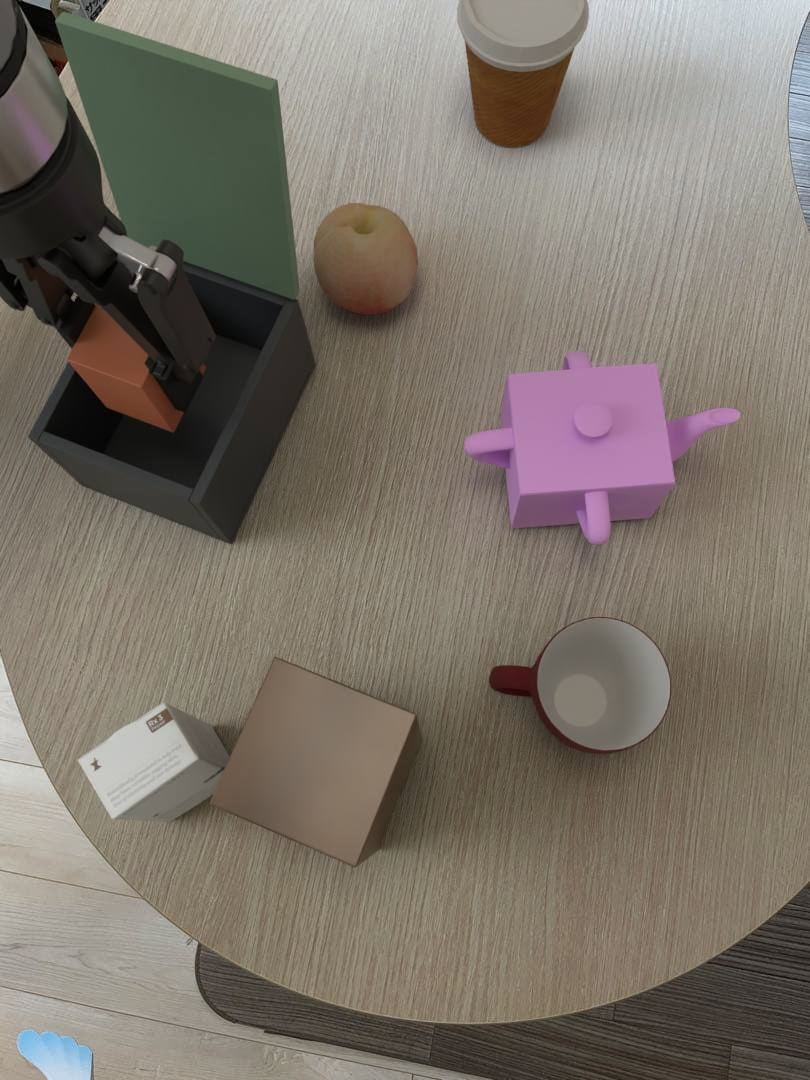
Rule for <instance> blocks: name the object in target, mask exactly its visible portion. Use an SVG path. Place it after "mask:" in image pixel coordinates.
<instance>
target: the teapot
mask: <svg viewBox="0 0 810 1080" xmlns="http://www.w3.org/2000/svg"><path fill="white" fill-rule="evenodd" d="M563 357H564V358H563V360H562V361H563V363H562V369H559V370H558V369H555V370H545V371H534V372H523V373H522V372H521V373H511V374H506V380H505V386H504V392H503V398H502V404H501V411H500V416H499V422H500V428H495V429H489V430H482V431H478V432H474V433H472V434H470V435H468V436H467V437H466V438H465V440H464V441H463V451H464V453H465V454H466V455H467V456H468V457H469V458H471V459H472V460H474V461H477V462H478V463H482V464H486V465H491V466H495V467H499V468H504V471H505V481H506V489H507V498H508V509H509V519H510V527H511V529H522V528H524V529H525V528H536V527H550V526H562V525H576V524H579V525H580V528H581V530H582V533H583V536H584V537H585V539H586V540H587V541H588V542H589V544H591V545H594V546H603V545H605V544H606V543H607V542H608V541H609V539H610V538H611V531H612V530H611V529H612V527H611V525H612V524H611V522H615V521H627V520H629V521H630V520H642V519H650V518H651V517H652V516H653V515H654V514H655V512H656V510H658V508H659V507H660V506H661V504H663V501H664V500H665V499H666V497H668V495H669V494H670V492H671V491H672V489H673V488H674V487H675V486H676V483H677V482H676V478H675V471H674V464H673V462H675V461H677V460H678V459H679V458H681V457H682V456H683V455H684V454H686V453H687V451H688V450H689V449H690V448H691V447H692V446H693V445H694V444H695V443H696V442H697V441H698V440H699V439H700V438H701V437H702V436H703V435H705V434H707V433H708V432H710V431H712V430H715V429H717V428H719V427H723V426H727V425H730V424H733V423H735V422H737V421H738V420H739V419H740V418H741V413H740V411H739V410H738V409H735V408H730V407H718V408H711V409H707V410H704V411H700V412H697V413H694V414H691V415H687V416H684V417H680V418H676V419H671V420H666V419H667V418H666V412H665V406H664V399H663V393H662V385H661V379H660V374H659V368H658V363H657V362H653V363H651V362H650V363H638V364H621V365H608V366H594V367H592V362H591V359H590V356H589V353H587V352H585V351H583V350H573V351H569V352H567V353H566V354H565V355H564V356H563Z"/></svg>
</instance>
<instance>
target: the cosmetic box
mask: <svg viewBox="0 0 810 1080" xmlns="http://www.w3.org/2000/svg"><path fill="white" fill-rule="evenodd" d="M230 756H231V755H229V752H228V751H227V750H226V748H225V746H224V744H223V743H222V741H221V739H220V738H219V736H218V734H217V733H216V731H215V729H214V727H213V726H212V725H211V724H210V723H207V722H205V721H203V720H201V719H200V718H198V717H196V716H193V715H191V714H190V713H188V712H186V711H183V710H181V709H179V708H177V707H176V706H173V705H172V704H169V703H168V702H166V701H164V702H161V703H160V704H158V705H157V706H156V707H154V708H153V709H151V710H149V711H148V712H146V713H145V714H143V715H142V716H140V717H139V718H137V719H136V720H134V721H132V722H130V723H129V724H126V725H124V726H122V727H121V728H119V729H118V730H116V731H115V732H114V733H113V734H112V735H110V736H109V737H108V738H107V739H106V740H103V742H101V743H99V744H98V745H96V746H95V747H94V748H92V749H90V750H89V751H88V752H87V753H85V754H84V755H81V756H80V757H79V758H78V759H77V762H78V764H79V765H80V768H82V771H83V772H84V773H85V775H86V777H87V778H88V780H89V782H90V784H91V786H92V787H93V789H94V791H95V792H96V794H97V796H98V798H99V799H100V802H101V803H102V804H103V807H104V808H105V810H106V811H107V813H108V815H109V817H110V819H111V820H116V821H117V820H119V821H120V820H121V821H139V822H140V821H141V822H142V821H143V822H157V823H158V822H160V823H169V822H172V821H173V820H176V819H177V818H179V817H180V816H182V815H184V814H185V813H187V812H188V811H190V810H192V809H193V808H195V807H197V806H198V805H199V804H201V803H202V802H204V801H205V800H207V799H209V798H210V797H212V796H213V794H214V792H215V790H216V788H217V785H218V783H219V781H220V779H221V776H222V774H223V772H224V770H225V767H226V765H227V763H228V760H229V758H230Z"/></svg>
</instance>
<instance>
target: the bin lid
mask: <svg viewBox="0 0 810 1080" xmlns="http://www.w3.org/2000/svg"><path fill="white" fill-rule="evenodd" d="M54 22H55V25H56V29H57V31H58V34H59V37H60V40H61V43H62V46H63V49H64V52H65V56H66V58H67V62H68V65H69V68H70V71H71V74H72V76H73V79H74V80H73V81H74V82H75V86H76V89H77V91H78V94H79V97H80V101H81V104H82V106H83V110H84V113H85V116H86V119H87V122H88V124H89V125H88V126H89V128H90V131H91V134H92V137H93V140H94V143H95V146H96V149H97V152H98V155H99V158H100V162H101V164H102V168H103V170H104V173H105V176H106V180H107V182H108V186H109V188H110V191H111V195H112V198H113V200H114V204H115V207H116V209H117V212H118V215H119V219H120V221H121V222H122V223H123V224H124V226H125V228H126V231H127V237H128V238H130V239H132V240H134V241H136V242H138V243H140V244H142V245H144V246H146V247H148V248H149V247H150V246H151V245H154V246H156V247H158V245H159V243H160V241H161V240H163V239H165V240H170V241H172V242H173V243H175V244H177V245H178V246H179V247H180V248H181V249H182V250H183V252H184V258H183V261H185V262H188V263H191V264H194V265H197V266H199V267H202V268H205V269H208V270H211V271H214V272H217V273H219V274H222V275H225V276H228V277H231V278H234V279H236V280H239V281H242V282H245V283H248V284H251V285H253V286H256V287H259V288H262V289H265V290H268V291H271V292H273V293H276V294H279V295H282V296H285V297H288V298H290V299H293V300H295V299H297V297H298V296H299V294H300V292H301V290H300V289H301V288H300V281H299V271H298V270H299V269H298V262H297V261H298V260H297V253H296V242H295V241H296V240H295V233H294V232H295V231H294V224H293V214H292V213H293V212H292V204H291V195H290V185H289V175H288V167H287V156H286V147H285V138H284V128H283V119H282V108H281V99H280V90H279V81H278V79H276V78H274V77H273V78H272V77H269V76H267V75H264V74H261V73H257V72H254V71H251V70H248V69H245V68H242V67H238V66H235V65H232V64H229V63H226V62H223V61H219V60H216V59H214V58H210V57H207V56H204V55H201V54H197V53H195V52H191V51H188V50H185V49H183V48H179V47H175V46H173V45H169V44H166V43H164V42H160V41H158V40H154V39H150V38H148V37H144V36H142V35H137V34H135V33H132V32H128V31H125V30H123V29H120V28H116V27H113V26H111V25H107V24H103V23H100V22H98V21H94V20H92V19H88V18H84V17H81V16H79V15H76V14H72V13H70V12H66V11H62V12H61V13H60V14H59V15H58V17H57V18H55V21H54Z"/></svg>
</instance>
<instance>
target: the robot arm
mask: <svg viewBox="0 0 810 1080" xmlns="http://www.w3.org/2000/svg"><path fill="white" fill-rule="evenodd" d="M39 40H40V39H38V37H37V35H36V33H35V31H34V30H33V28H32V26H31V24H30V22H29V20H28V18H27V16H26V15H25V13H24V11H23V10H22V8H21V5H20V4H19V3H18V1H16V0H0V298H1V299H2V301H3V302H4V303H5V304H6V305H8V307H9V308H11V309H13V310H15V311H19V312H24V310H25V309H26V308H27V307H29V308H31V309H32V311H33V313H34V315H35V317H36V319H37V320H39V321H40V323H42V324H44V325H46V326H49V327H54V329H55V330H56V331H57V332H58V334H59V335H60V337H61V338H62V339H63V340H64V341H65V343H66V344H67V345H68V347H70V349H71V350H72V349H73V347H74V345H75V343H76V341H77V340H78V338H79V336H80V334H81V332H82V330H83V328H84V327H85V325H86V323H87V321H88V319H89V317H90V316H91V314H92V312H93V310H94V308H95V306H96V304H97V305H100V306H101V307H102V308H103V309H104V310H105V311H106V312H107V313H108V314H109V315H110V316H111V317H112V318H113V319H114V320H115V321H116V322H117V323H118V324H119V325H120V327H121V328H122V329H123V330H124V331H125V332H126V333H127V334H128V335H129V336H130V337H131V338H132V339H133V340H134V341H135V342H136V343H137V344H138V345H139V346H140V347H141V348H142V349H143V350H144V351H145V352H146V353H147V354H148V355H149V356H148V358H147V359H146V361H145V363H144V364H145V365H146V366H147V368H148V369H149V372H148V373H150V374H151V375H152V376H154V378H155V379H156V381H157V382H158V384H159V385H160V387H161V388H162V390H163V391H164V393H165V394H166V396H167V397H168V399H169V400H170V402H171V403H172V405H173V406H174V408H175V409H176V410H179V411H182V412H184V413H186V411H187V409H188V407H189V405H190V403H191V401H192V399H193V397H194V395H195V393H196V391H197V389H198V387H199V385H200V383H201V381H202V379H203V375H202V373H201V371H200V368H201V366H202V364H203V362H204V360H205V358H206V356H207V354H208V352H209V350H210V348H211V346H212V344H213V342H214V340H215V338H216V335H215V333H214V331H213V329H212V327H211V325H210V323H209V321H208V319H207V317H206V315H205V313H204V311H203V309H202V307H201V305H200V303H199V301H198V299H197V297H196V295H195V293H194V291H193V289H192V287H191V285H190V283H189V281H188V279H187V277H186V275H185V273H184V271H183V269H182V267H183V258H184V252H183V250H182V249H181V248H180V247H179V246H178V245H177V244H175V243H173V242H172V241H170V240H165V239H163V240H161V241H160V243H159V245H158V247H156V246H154V245H151V246H150V247H149V248H148V247H146V246H144V245H142V244H140V243H138V242H136V241H134V240H132V239H130V238H128V237H127V231H126V228H125V226H124V224H123V223H122V222H121V219H120V217H119V218H118V217H117V216H116V214H115V213H113V212H112V211H111V209H110V208H109V207H108V206H107V205H106V204H105V201H104V194H103V193H104V192H103V179H102V178H103V177H102V169H101V168H102V167H101V163H100V159H99V156H98V153H97V151H96V149H95V147H94V145H93V143H92V140H91V139H90V137H89V135H88V132H87V131H86V129H85V127H84V126H83V124H82V121H81V120H80V118H79V117H78V114H77V112H76V111H75V108H74V106H73V105H72V103H71V101H70V99H69V98H68V96H67V95H66V93H65V89H64V87H63V85H62V82H61V79H60V77H59V75H58V73H57V72H56V70H55V68H54V66H53V64H52V63H51V60H50V59H49V57H48V56H47V55H48V54H47V53H46V52H45V50H44V47H43V46H42V45H41V43H40V41H39ZM74 294H75V295H76V297H75V299H74V300H73V298H72V297H73V295H74Z"/></svg>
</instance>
